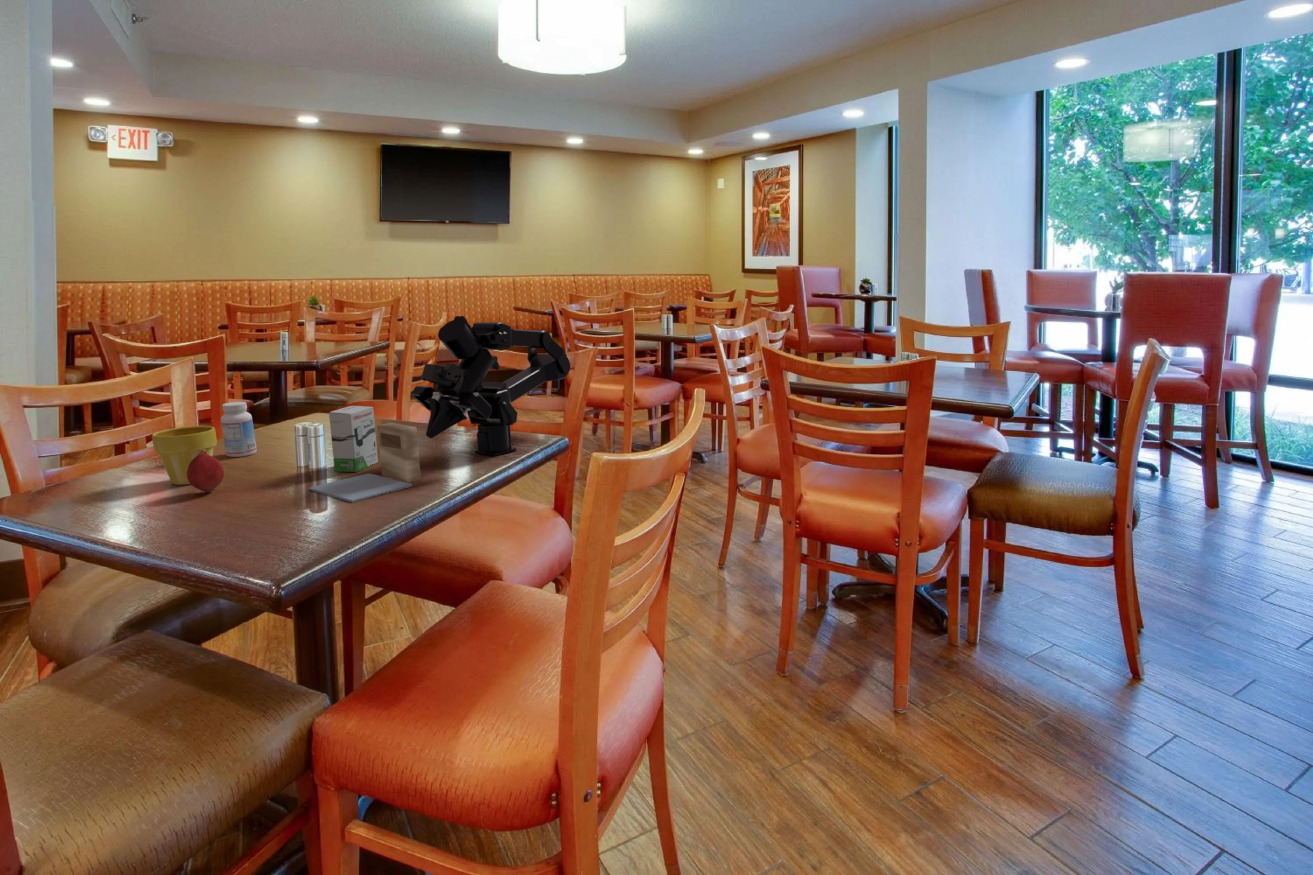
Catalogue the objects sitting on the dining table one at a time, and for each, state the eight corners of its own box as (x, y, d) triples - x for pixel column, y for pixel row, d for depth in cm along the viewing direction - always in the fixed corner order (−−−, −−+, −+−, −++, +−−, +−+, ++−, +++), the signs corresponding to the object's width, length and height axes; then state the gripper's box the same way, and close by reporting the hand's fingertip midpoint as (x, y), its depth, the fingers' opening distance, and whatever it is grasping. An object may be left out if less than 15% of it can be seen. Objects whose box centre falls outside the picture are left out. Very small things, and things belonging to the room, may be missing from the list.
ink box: (356, 472, 157) (349, 413, 154) (333, 472, 158) (326, 412, 155) (379, 461, 165) (374, 405, 162) (358, 461, 166) (352, 404, 163)
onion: (189, 499, 141) (182, 455, 140) (190, 491, 146) (184, 448, 145) (226, 494, 144) (220, 450, 142) (226, 486, 149) (220, 444, 147)
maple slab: (395, 473, 156) (391, 422, 154) (421, 479, 151) (416, 427, 149) (381, 476, 153) (376, 425, 151) (406, 483, 149) (401, 430, 146)
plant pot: (176, 474, 159) (168, 426, 156) (231, 472, 159) (224, 424, 157) (148, 489, 149) (140, 437, 146) (207, 486, 149) (199, 435, 147)
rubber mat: (368, 475, 155) (368, 473, 154) (412, 486, 146) (412, 484, 146) (309, 489, 145) (309, 487, 145) (352, 502, 137) (352, 500, 137)
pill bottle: (250, 449, 179) (244, 400, 176) (261, 453, 175) (254, 402, 172) (221, 454, 175) (214, 404, 172) (231, 459, 170) (224, 407, 168)
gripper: (415, 345, 162) (371, 408, 156) (475, 350, 151) (431, 417, 145) (449, 379, 170) (409, 440, 164) (509, 386, 158) (469, 451, 152)
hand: (428, 436), depth 156 cm, fingers closed
